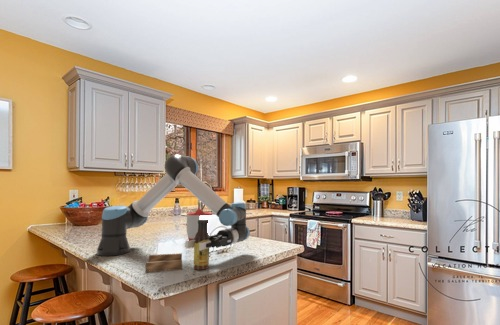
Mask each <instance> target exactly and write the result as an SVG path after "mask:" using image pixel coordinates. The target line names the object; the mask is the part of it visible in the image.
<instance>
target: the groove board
mask: <svg viewBox="0 0 500 325" xmlns="http://www.w3.org/2000/svg"><path fill="white" fill-rule="evenodd" d="M182 266H183V253H181V252H179V253H165V254H164V253H161V254H150V255H148V261H145V272H146V273H147V272H148V273H149V272H159V271H160V272H161V271H174V270H175V271H176V270H177V271H178V270H182V269H183V268H182Z"/></svg>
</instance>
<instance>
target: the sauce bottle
mask: <svg viewBox="0 0 500 325" xmlns="http://www.w3.org/2000/svg"><path fill="white" fill-rule="evenodd" d="M207 223H208V220H198V232H197V233H196V236H195V243H194V247H193V248H194V249H193V269H194V270H198V271H200V270H201V271H203V270H207V269H208V268H209V264H210V263H209V262H210V248H207V249H204V250H201V251H200V250H199V243H203V242H206V241H210V240H209V236H208V233H207Z"/></svg>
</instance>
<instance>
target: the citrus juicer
mask: <svg viewBox="0 0 500 325" xmlns="http://www.w3.org/2000/svg"><path fill="white" fill-rule="evenodd" d="M200 215H212V216H213V212H205V211H203V210H202V209H201V208H198V209H196V211H195V212H194V211H193V212H187V213H186V234H187V235H186V236H187V238H188V241H191V240H194V238H195V236H196V233H197V232H198V220H199V216H200Z"/></svg>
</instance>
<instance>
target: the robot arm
mask: <svg viewBox="0 0 500 325" xmlns="http://www.w3.org/2000/svg"><path fill="white" fill-rule="evenodd" d="M164 171H165V172H166V173H165V174H164V175H163V176H162V177H161V178H160V179H159V180H158V181H157V182H156V183H155V184H154V185H153V186H152V187H151V188H149V190H148V191H147V192H146V193H145V194H143V195H142V197H141V198H140V199H139V200H134V201H132V202H130V204H129V205H128V206H127V205H112V206H111V205H110V206H107V207H105V208H104V209H103V210H102V214H101V237H100V241H99V244H98V246H97V248H96V255H97V256H101V257H109V256H110V257H113V256H121V255H124V254H128V253H129V252H130V250H131V249H130V248H131V247H130V244H129V243H130V242H129V240H128V238H127V233H128V232H127V230H129V229H133V228H140V227H141V226H143V225H145V224H146V222H147V221H148V219H149V216H150V214H151V211H152V210H153V209H154V208H155V207H156V206H157V205H158V204H159V203H160V202H161V201H162V200H163V199H164V198H166V196H168V194H170V193H171V192H172V191H173V190H174V189H175V188H176V187H177V186H178V185H182V186H183V187H184V188H185V189H186V190H187V191H189V192H190V193H191V195H193V196H194V197H195V198H196V199H198V201H200V202H201V203H202V204H203V205H204V206H205V207H207V208H208V209H209V210H210V211H211V213H212V214H213V213H214V215H216V217H218V220H219V222H220V224H221V225H223V226H225V227H228V228H224V229H220V230H218V232H217V233H216V234H214V235H213V234H212V235H210V236H209V235H208V236H209V240H210V241H206V242H203V243H199V250H200V251H201V250H204V249H207V248H209V249H210V248H216V249H218V248H221V247H227V246H232V245H234V244H236V243H240V242H244V241H246V240H248V239H249V237H250V235H251V234H250V233H251V230H250V229H249V226H247V205H246V203H245V202H231V205H230V204H229V203H228V202H226V200H224V199H223V198H222V197H221V196H220V195H219V194H217V193H216V192H215V191H214V190H213V189H212V188H211V187H210V186H208V185H207V184H206V183H205V182H204V181H203V180H201V179H200V178H199V177H198V176H197V173H198V172H199V164H198V162H197V160H196V159H195V158H193V157H191V156H188V155H181V154H171V155H170V156H169V157H168V158H167V159H166V160H165V162H164ZM229 227H230V228H229ZM185 242H186V243H185V244H186V245H185V247H186V248H185V249H190V248H194V243H195V238H194V240H191V241H189V240H187V241H185Z"/></svg>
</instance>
